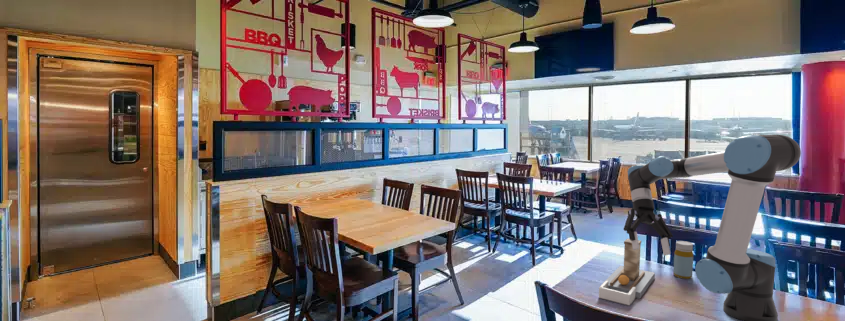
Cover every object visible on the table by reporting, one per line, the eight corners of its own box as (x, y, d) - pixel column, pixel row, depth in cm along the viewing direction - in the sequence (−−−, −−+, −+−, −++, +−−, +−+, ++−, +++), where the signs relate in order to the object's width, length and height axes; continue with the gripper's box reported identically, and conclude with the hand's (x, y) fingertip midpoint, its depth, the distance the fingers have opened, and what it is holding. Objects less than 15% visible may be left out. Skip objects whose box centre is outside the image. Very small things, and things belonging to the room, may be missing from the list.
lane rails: (644, 274, 179) (644, 271, 178) (632, 290, 163) (632, 287, 162) (624, 270, 184) (624, 267, 184) (609, 285, 168) (609, 282, 168)
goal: (635, 298, 162) (636, 287, 161) (629, 306, 155) (629, 294, 154) (605, 290, 169) (606, 280, 168) (598, 298, 162) (599, 287, 161)
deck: (654, 278, 181) (654, 272, 181) (639, 298, 161) (640, 292, 161) (620, 270, 190) (620, 265, 189) (602, 289, 170) (602, 283, 170)
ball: (630, 284, 168) (630, 274, 168) (627, 287, 165) (627, 277, 165) (619, 282, 171) (619, 272, 171) (616, 285, 168) (617, 275, 168)
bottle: (669, 274, 184) (671, 241, 183) (680, 272, 187) (681, 239, 186) (685, 280, 178) (687, 246, 176) (695, 277, 181) (697, 244, 179)
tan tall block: (639, 275, 178) (641, 240, 176) (634, 280, 171) (636, 245, 170) (626, 272, 181) (627, 238, 180) (620, 277, 175) (622, 243, 173)
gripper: (662, 209, 176) (672, 259, 166) (609, 199, 172) (616, 249, 162) (675, 203, 170) (687, 254, 160) (621, 192, 166) (629, 243, 155)
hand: (651, 251), depth 161 cm, fingers open, 13 cm apart
